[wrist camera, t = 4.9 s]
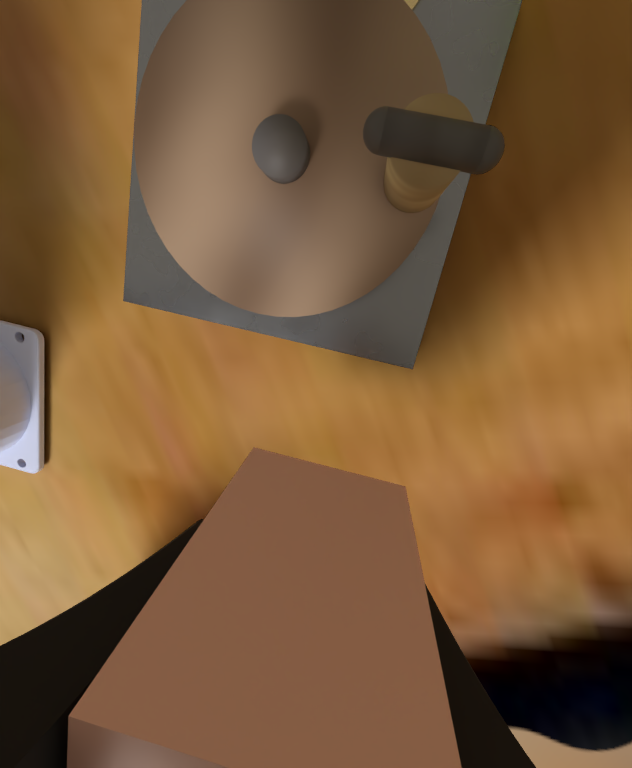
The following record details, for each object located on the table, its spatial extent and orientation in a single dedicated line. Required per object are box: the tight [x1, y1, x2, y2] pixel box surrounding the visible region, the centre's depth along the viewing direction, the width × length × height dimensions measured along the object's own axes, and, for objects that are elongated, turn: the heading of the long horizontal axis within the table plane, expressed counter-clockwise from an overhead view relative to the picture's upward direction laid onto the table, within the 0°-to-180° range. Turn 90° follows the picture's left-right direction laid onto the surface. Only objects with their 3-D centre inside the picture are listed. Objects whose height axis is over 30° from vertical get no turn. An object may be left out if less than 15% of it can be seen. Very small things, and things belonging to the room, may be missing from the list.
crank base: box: [123, 0, 522, 369], centre depth 14 cm, size 13×13×1 cm
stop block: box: [67, 448, 462, 768], centre depth 8 cm, size 4×4×7 cm
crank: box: [134, 0, 505, 317], centre depth 11 cm, size 12×11×5 cm
